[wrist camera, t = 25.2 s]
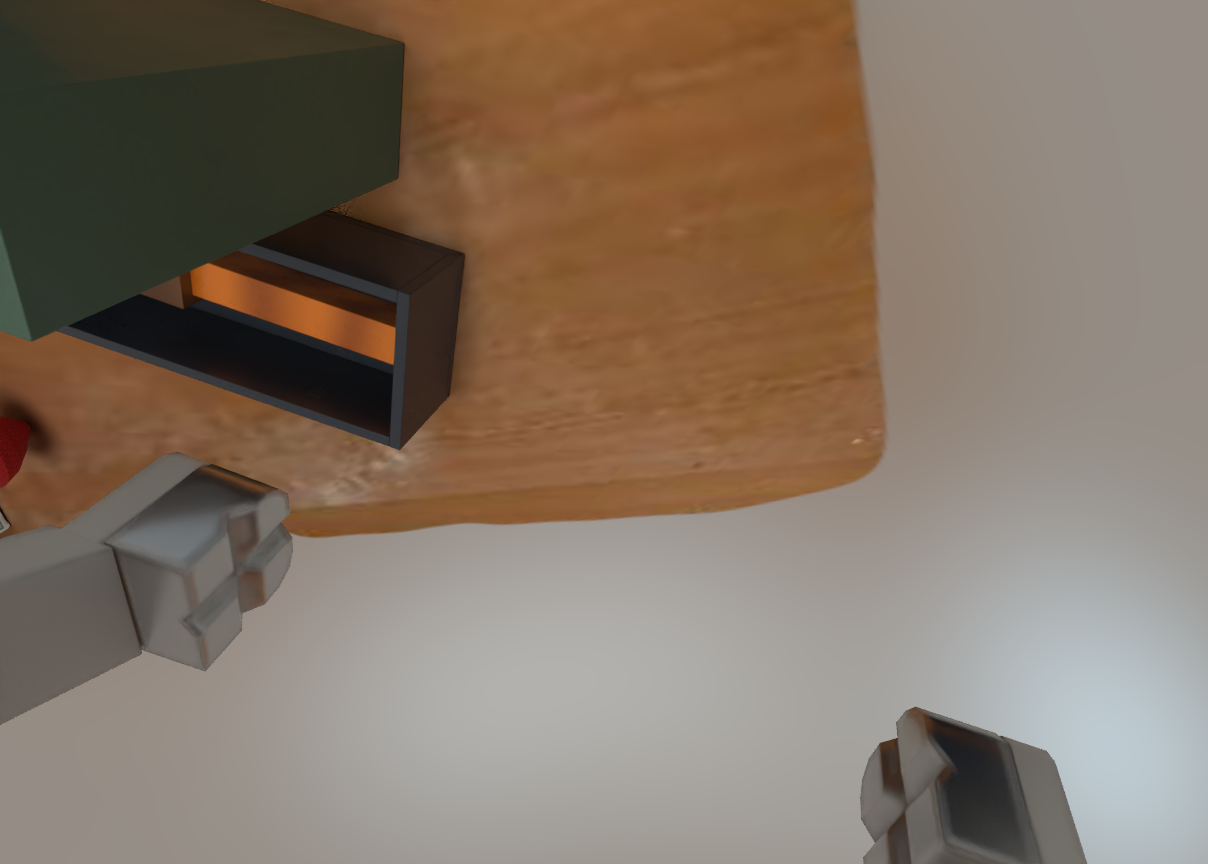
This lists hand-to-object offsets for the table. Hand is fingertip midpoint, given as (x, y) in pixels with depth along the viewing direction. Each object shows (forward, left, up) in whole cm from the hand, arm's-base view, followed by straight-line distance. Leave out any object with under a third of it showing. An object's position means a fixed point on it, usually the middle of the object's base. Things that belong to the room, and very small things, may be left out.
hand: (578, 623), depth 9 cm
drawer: (-2, -36, -37) cm, 51 cm away
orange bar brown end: (0, -34, -36) cm, 50 cm away
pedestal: (-11, -26, -37) cm, 46 cm away
